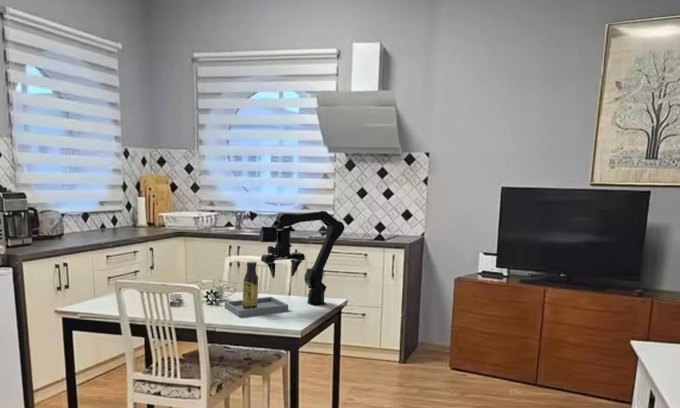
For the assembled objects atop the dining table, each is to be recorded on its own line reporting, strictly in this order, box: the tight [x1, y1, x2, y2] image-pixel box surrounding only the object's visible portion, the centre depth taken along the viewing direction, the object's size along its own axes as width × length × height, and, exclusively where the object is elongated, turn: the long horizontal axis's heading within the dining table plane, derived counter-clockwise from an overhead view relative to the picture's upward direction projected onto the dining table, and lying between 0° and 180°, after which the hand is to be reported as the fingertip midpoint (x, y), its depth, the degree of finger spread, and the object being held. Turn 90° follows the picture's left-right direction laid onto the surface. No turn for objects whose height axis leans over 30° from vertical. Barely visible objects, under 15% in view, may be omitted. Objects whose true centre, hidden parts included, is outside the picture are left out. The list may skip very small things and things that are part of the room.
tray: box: [224, 296, 289, 318], centre depth 215 cm, size 22×17×2 cm
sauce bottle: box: [242, 260, 259, 309], centre depth 213 cm, size 6×6×20 cm
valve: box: [203, 283, 225, 305], centre depth 228 cm, size 7×7×12 cm
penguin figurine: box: [170, 294, 183, 305], centre depth 225 cm, size 6×8×12 cm
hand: (283, 277), depth 220 cm, fingers open, 9 cm apart
